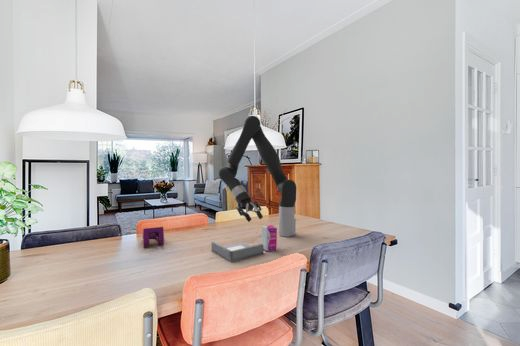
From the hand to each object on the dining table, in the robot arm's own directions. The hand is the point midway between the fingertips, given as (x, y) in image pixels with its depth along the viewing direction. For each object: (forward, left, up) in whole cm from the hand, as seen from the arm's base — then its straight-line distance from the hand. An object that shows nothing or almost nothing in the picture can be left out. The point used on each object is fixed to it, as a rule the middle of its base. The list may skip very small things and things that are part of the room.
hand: (256, 219), depth 136 cm
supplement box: (-2, +9, -14) cm, 17 cm away
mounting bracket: (+42, -37, -14) cm, 58 cm away
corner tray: (+13, +3, -14) cm, 19 cm away
